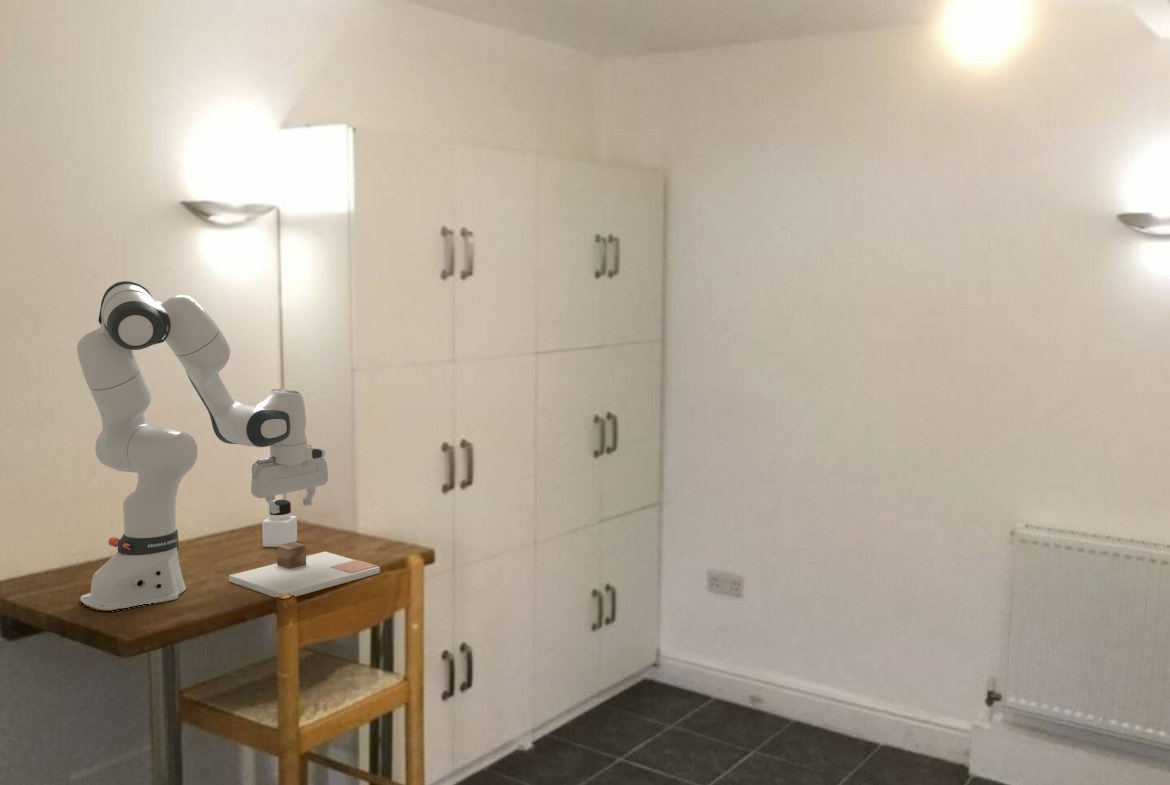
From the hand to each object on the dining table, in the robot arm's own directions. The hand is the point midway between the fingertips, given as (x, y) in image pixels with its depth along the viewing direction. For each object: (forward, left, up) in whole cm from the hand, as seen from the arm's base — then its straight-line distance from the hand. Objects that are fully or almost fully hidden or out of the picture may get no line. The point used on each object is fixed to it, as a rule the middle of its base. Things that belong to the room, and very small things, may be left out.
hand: (291, 509), depth 264 cm
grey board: (-1, -7, -16) cm, 17 cm away
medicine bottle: (+13, +24, -16) cm, 31 cm away
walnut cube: (0, 0, -14) cm, 14 cm away
